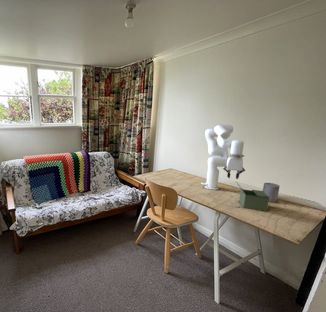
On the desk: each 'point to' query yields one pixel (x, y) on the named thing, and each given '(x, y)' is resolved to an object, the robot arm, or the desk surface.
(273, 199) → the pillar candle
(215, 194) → the desk surface
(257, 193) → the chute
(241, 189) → the flap
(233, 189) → the desk surface
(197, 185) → the desk surface
